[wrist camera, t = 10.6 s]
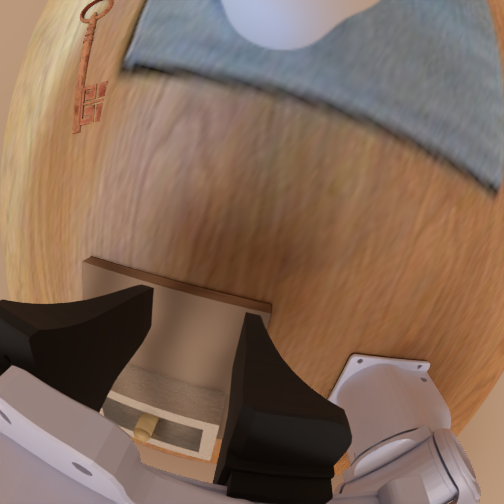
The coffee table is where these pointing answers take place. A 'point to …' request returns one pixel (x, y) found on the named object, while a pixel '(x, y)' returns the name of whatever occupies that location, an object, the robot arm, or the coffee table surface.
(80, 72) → the key
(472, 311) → the coffee table surface
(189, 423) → the cream hollow block
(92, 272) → the board
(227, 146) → the coffee table surface
